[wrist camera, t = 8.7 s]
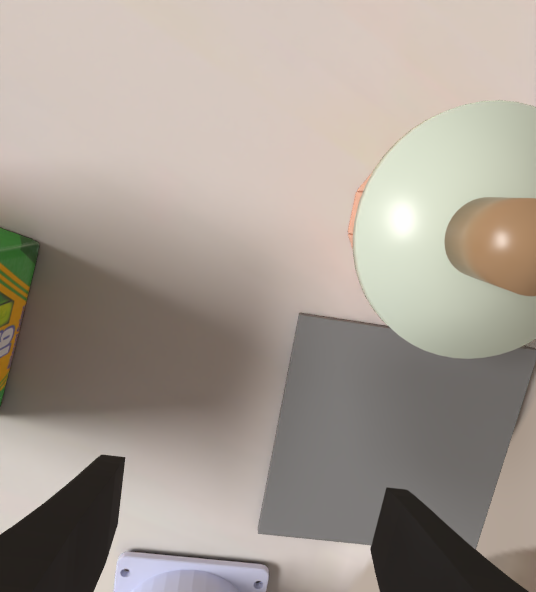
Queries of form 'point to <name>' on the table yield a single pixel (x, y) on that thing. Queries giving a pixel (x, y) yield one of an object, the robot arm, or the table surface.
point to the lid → (454, 232)
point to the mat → (387, 431)
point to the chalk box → (13, 293)
